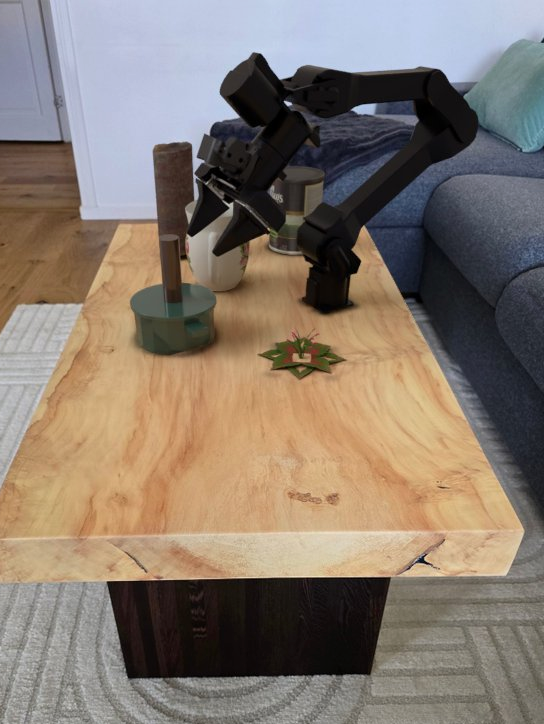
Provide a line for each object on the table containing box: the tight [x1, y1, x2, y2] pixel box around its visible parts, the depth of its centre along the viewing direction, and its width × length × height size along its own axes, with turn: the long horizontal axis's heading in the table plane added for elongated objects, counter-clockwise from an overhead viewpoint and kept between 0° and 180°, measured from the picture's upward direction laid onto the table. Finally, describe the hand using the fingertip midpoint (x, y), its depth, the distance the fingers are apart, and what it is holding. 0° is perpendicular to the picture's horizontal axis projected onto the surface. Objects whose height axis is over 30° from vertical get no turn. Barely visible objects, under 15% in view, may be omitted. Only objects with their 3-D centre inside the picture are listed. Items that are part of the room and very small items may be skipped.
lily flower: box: [257, 327, 347, 380], centre depth 88 cm, size 12×12×5 cm
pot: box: [133, 308, 215, 356], centre depth 94 cm, size 12×17×6 cm
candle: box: [152, 141, 195, 257], centre depth 119 cm, size 8×7×20 cm
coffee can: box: [268, 165, 326, 256], centre depth 124 cm, size 10×10×14 cm
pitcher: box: [185, 199, 251, 292], centre depth 108 cm, size 11×18×14 cm, turn 177°
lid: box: [129, 234, 218, 322], centre depth 90 cm, size 13×13×10 cm
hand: (201, 244), depth 90 cm, fingers open, 9 cm apart
